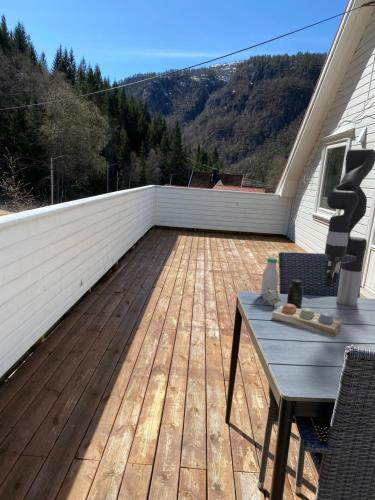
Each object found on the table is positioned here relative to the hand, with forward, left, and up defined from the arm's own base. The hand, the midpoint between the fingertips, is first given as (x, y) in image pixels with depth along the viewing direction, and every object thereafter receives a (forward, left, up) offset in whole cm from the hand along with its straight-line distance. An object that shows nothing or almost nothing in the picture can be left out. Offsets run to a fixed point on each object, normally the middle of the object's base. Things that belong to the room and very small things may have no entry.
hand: (330, 284), depth 133 cm
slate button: (0, 0, -16) cm, 16 cm away
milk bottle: (-21, -33, -18) cm, 43 cm away
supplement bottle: (-19, -19, -18) cm, 33 cm away
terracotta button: (0, -15, -16) cm, 22 cm away
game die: (-9, -27, -18) cm, 34 cm away
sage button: (0, -8, -16) cm, 18 cm away
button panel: (0, -8, -18) cm, 20 cm away
